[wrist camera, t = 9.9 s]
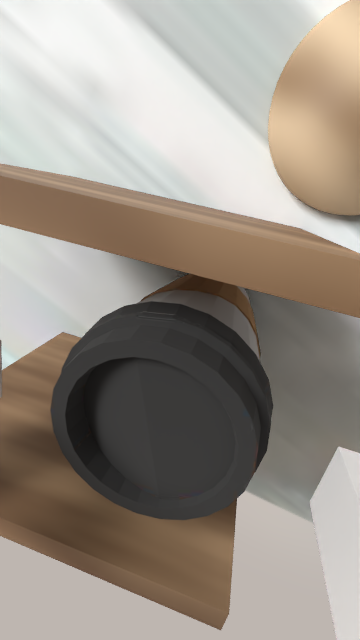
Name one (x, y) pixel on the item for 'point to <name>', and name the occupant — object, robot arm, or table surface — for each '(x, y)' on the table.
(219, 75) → the table surface
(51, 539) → the cradle
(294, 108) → the coaster
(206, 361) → the coffee cup
